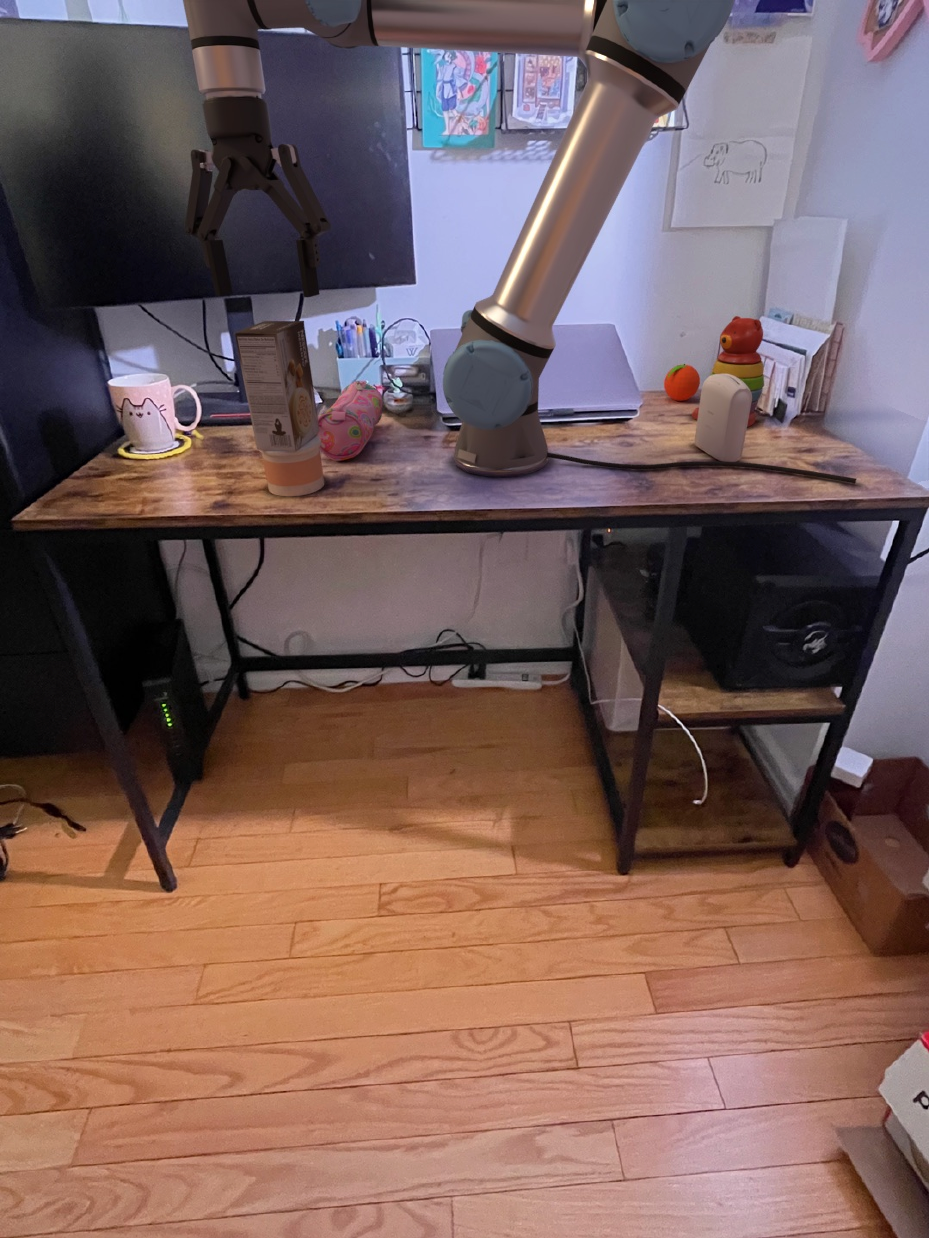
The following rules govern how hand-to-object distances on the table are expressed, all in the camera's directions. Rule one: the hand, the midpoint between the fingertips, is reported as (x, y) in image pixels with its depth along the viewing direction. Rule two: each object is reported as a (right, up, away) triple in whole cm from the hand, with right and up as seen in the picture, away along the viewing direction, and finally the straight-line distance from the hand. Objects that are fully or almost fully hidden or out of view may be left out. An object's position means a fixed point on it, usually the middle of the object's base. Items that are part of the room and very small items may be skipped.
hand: (267, 295), depth 94 cm
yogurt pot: (0, -23, +14) cm, 27 cm away
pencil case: (+7, -12, +31) cm, 34 cm away
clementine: (+70, +1, +49) cm, 85 cm away
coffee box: (0, -17, +11) cm, 20 cm away
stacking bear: (+75, -7, +37) cm, 84 cm away
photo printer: (+68, -16, +22) cm, 73 cm away
